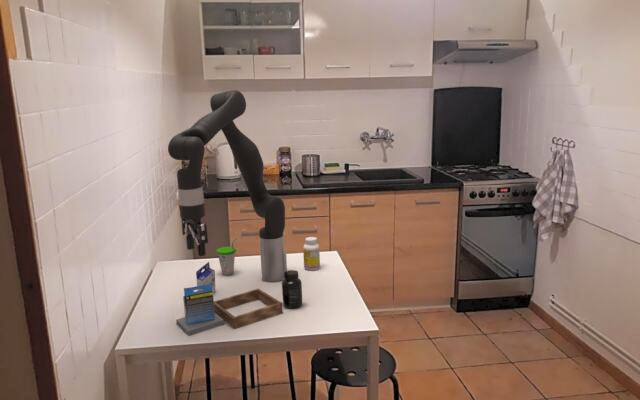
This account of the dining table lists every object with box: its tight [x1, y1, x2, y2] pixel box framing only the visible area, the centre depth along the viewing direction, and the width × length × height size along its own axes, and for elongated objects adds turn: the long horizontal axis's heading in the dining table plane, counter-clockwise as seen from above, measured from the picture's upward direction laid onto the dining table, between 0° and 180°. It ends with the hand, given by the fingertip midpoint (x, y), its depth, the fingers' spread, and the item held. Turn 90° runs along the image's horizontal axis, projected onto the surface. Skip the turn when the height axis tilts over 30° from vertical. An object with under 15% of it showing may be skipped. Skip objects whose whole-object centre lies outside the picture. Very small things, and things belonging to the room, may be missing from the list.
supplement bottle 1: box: [281, 269, 303, 310], centre depth 173 cm, size 7×7×12 cm
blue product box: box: [183, 284, 215, 325], centre depth 161 cm, size 9×4×12 cm, turn 112°
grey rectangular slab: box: [175, 312, 225, 336], centre depth 162 cm, size 12×10×2 cm
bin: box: [213, 288, 284, 330], centre depth 170 cm, size 18×16×4 cm
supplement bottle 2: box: [302, 236, 321, 271], centre depth 208 cm, size 7×7×13 cm
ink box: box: [195, 261, 216, 294], centre depth 183 cm, size 12×2×12 cm, turn 168°
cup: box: [216, 238, 237, 277], centre depth 204 cm, size 8×8×15 cm
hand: (196, 252), depth 158 cm, fingers open, 8 cm apart
